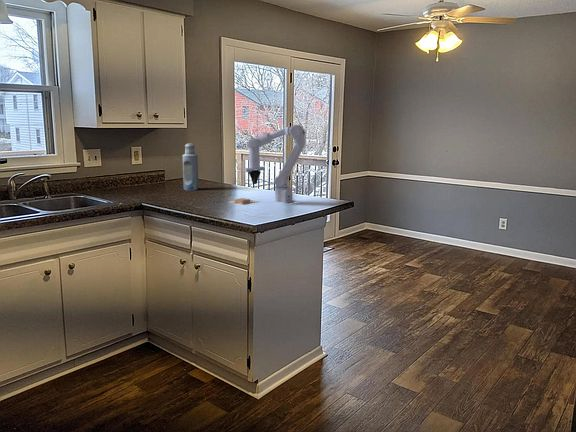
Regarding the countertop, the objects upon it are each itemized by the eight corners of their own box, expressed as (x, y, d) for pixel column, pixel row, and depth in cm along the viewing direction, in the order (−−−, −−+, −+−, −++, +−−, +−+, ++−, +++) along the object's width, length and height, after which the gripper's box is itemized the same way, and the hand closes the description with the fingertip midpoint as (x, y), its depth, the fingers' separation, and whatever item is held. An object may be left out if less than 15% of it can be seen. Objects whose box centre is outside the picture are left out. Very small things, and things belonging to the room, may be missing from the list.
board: (260, 203, 272) (260, 201, 272) (244, 206, 263) (244, 204, 262) (243, 200, 281) (243, 198, 281) (226, 203, 271) (226, 201, 271)
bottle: (180, 190, 319) (178, 143, 313) (188, 188, 328) (186, 143, 322) (194, 190, 316) (192, 144, 310) (201, 188, 325) (199, 143, 319)
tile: (250, 199, 270) (242, 200, 265) (250, 202, 270) (242, 203, 266) (242, 198, 274) (234, 199, 269) (242, 201, 274) (234, 202, 269)
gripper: (258, 158, 282) (258, 182, 285) (240, 160, 271) (240, 184, 274) (267, 159, 278) (267, 183, 280) (249, 161, 267) (249, 185, 269)
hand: (254, 183), depth 277 cm, fingers closed
